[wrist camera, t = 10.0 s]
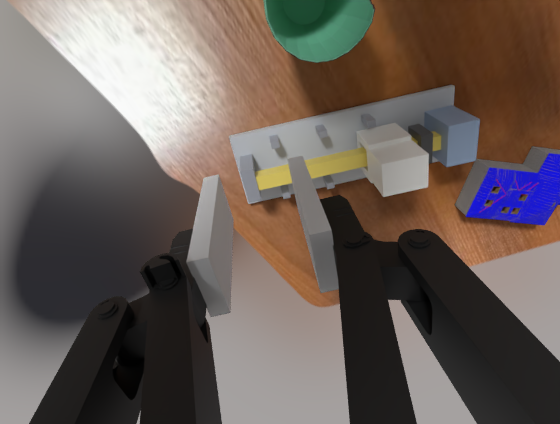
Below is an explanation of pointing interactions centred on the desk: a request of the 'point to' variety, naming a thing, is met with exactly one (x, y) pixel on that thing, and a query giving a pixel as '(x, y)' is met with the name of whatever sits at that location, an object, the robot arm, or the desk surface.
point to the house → (513, 188)
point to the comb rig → (351, 141)
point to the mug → (318, 26)
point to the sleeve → (393, 159)
